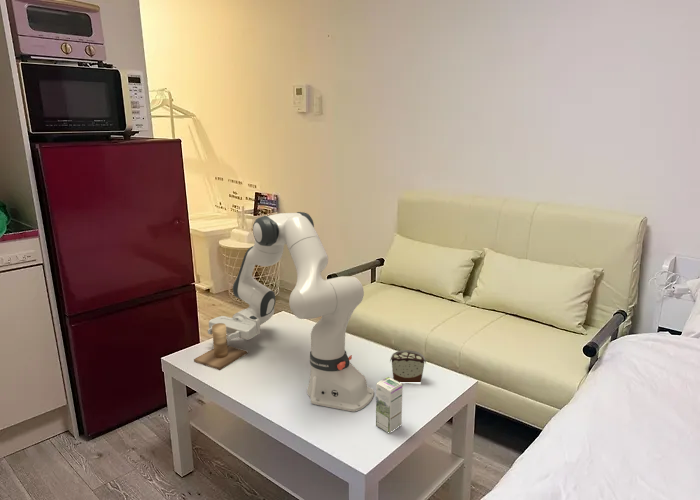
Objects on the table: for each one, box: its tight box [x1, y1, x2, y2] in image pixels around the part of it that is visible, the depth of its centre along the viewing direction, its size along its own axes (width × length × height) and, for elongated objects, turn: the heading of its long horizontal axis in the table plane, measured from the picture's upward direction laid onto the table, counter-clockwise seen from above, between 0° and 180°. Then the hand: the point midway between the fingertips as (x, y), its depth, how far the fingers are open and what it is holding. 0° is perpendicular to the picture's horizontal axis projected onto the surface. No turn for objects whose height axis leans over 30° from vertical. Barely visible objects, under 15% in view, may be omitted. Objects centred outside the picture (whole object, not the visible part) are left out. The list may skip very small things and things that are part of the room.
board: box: [193, 344, 248, 371], centre depth 192 cm, size 13×15×1 cm
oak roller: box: [212, 323, 228, 358], centre depth 191 cm, size 5×5×12 cm
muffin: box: [389, 349, 427, 383], centre depth 176 cm, size 12×6×10 cm, turn 84°
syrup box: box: [375, 376, 404, 434], centre depth 149 cm, size 6×6×14 cm
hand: (218, 335), depth 189 cm, fingers open, 8 cm apart
